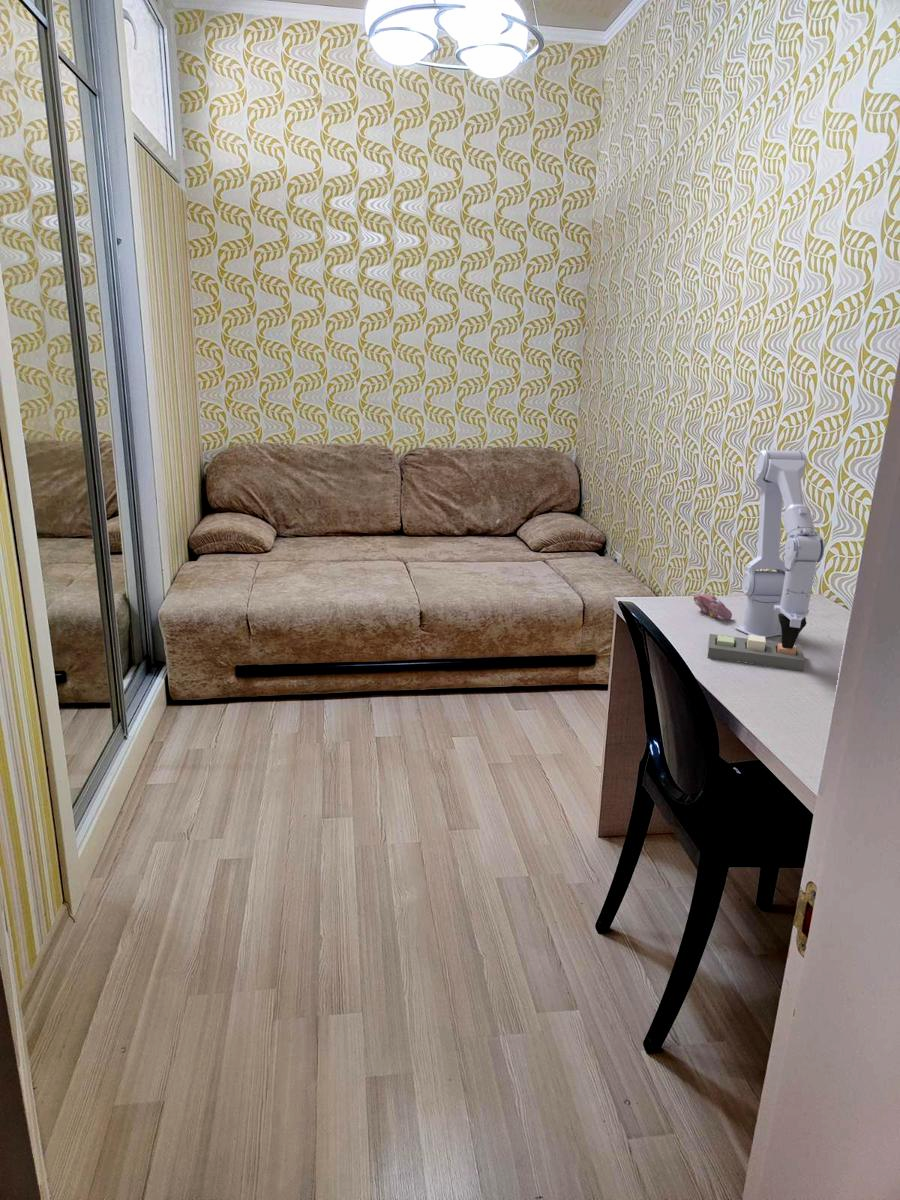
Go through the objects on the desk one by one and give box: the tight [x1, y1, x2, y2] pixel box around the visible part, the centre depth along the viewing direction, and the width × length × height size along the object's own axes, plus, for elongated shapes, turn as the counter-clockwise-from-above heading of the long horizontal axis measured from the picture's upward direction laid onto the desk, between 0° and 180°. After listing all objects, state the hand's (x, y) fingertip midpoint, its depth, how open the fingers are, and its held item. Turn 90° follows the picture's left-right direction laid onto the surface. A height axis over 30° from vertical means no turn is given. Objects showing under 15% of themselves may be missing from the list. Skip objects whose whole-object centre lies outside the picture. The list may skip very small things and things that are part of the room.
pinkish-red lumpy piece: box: [693, 591, 733, 621], centre depth 205 cm, size 10×5×7 cm, turn 24°
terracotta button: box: [776, 642, 796, 655], centre depth 178 cm, size 4×4×3 cm
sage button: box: [716, 634, 735, 647], centre depth 182 cm, size 4×4×3 cm
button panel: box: [707, 633, 806, 672], centre depth 180 cm, size 20×9×2 cm, turn 72°
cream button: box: [746, 634, 767, 651], centre depth 180 cm, size 4×4×3 cm
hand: (787, 647), depth 178 cm, fingers closed, pressing on terracotta button
